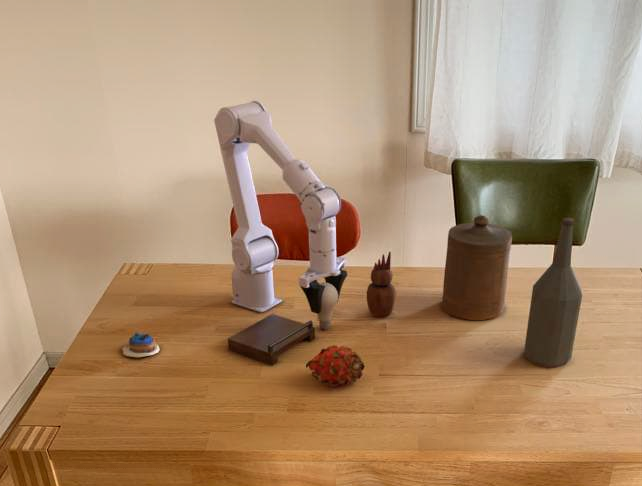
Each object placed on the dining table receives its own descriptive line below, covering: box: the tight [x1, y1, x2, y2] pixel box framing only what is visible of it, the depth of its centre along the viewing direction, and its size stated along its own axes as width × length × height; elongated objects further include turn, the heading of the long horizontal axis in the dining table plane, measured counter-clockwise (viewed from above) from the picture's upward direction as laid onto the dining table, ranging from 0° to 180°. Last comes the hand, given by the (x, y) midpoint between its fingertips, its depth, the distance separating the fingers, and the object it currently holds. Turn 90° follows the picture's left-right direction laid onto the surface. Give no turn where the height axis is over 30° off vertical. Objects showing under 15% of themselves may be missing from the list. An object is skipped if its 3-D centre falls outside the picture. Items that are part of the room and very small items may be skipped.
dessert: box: [121, 332, 160, 358], centre depth 169 cm, size 8×7×6 cm
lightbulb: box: [317, 281, 339, 331], centre depth 176 cm, size 6×6×11 cm
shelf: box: [227, 313, 316, 366], centre depth 172 cm, size 12×15×4 cm
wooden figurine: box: [366, 251, 397, 318], centre depth 182 cm, size 7×6×15 cm
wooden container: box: [441, 214, 513, 321], centre depth 184 cm, size 15×15×22 cm
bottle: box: [524, 217, 583, 368], centre depth 162 cm, size 10×10×30 cm
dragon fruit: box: [305, 345, 365, 388], centre depth 159 cm, size 8×8×12 cm
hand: (324, 307), depth 176 cm, fingers closed on lightbulb, 6 cm apart
